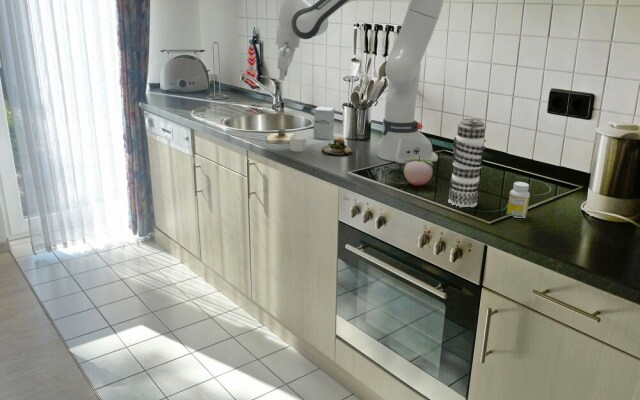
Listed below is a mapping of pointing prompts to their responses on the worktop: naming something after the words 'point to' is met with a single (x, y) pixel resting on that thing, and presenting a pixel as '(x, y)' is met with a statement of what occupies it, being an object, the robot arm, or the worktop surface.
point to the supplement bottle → (518, 200)
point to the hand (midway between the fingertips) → (283, 78)
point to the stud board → (279, 137)
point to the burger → (337, 147)
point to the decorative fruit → (418, 171)
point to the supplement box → (323, 123)
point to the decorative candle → (467, 163)
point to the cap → (298, 143)
